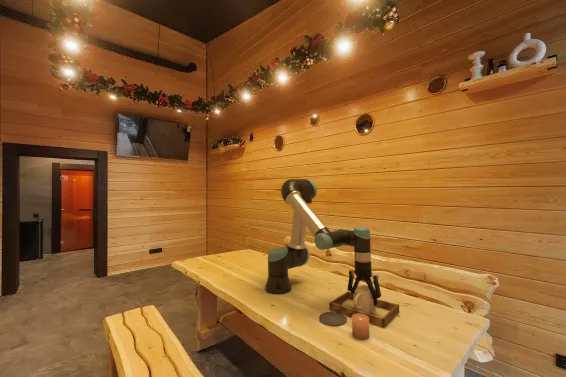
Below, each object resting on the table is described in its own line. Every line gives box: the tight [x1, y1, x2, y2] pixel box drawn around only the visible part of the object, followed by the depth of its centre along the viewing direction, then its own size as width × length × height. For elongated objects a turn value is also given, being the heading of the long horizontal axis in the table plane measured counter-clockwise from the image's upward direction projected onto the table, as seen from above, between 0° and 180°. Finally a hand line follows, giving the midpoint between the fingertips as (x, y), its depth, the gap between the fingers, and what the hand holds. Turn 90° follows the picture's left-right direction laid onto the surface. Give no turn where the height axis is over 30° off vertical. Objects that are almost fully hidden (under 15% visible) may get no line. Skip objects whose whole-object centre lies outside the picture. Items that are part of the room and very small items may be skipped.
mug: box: [354, 284, 375, 314], centre depth 122 cm, size 12×8×10 cm
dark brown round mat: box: [318, 311, 348, 327], centre depth 115 cm, size 12×12×1 cm
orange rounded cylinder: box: [351, 313, 370, 341], centre depth 102 cm, size 6×6×7 cm
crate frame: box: [329, 291, 400, 329], centre depth 122 cm, size 26×18×4 cm
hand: (364, 309), depth 122 cm, fingers closed on mug, 8 cm apart
